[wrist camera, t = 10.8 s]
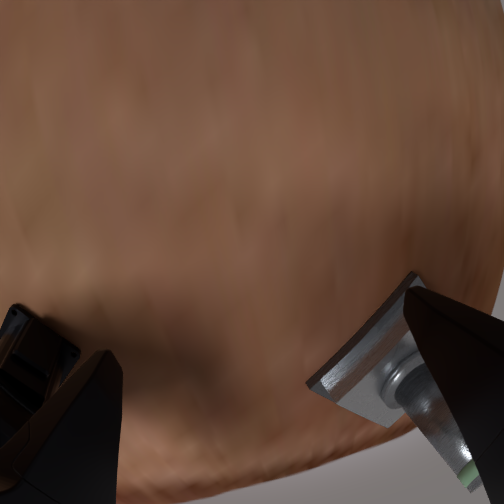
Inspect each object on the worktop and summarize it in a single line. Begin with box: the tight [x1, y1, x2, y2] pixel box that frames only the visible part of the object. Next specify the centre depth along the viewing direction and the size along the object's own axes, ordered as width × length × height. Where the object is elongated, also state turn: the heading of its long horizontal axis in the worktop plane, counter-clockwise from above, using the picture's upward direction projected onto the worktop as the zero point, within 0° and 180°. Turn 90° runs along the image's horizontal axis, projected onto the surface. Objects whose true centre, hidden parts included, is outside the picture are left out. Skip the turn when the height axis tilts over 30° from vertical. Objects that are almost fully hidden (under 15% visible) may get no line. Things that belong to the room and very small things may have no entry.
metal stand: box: [306, 271, 426, 428], centre depth 28 cm, size 14×14×4 cm
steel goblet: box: [380, 350, 483, 493], centre depth 20 cm, size 7×7×14 cm
